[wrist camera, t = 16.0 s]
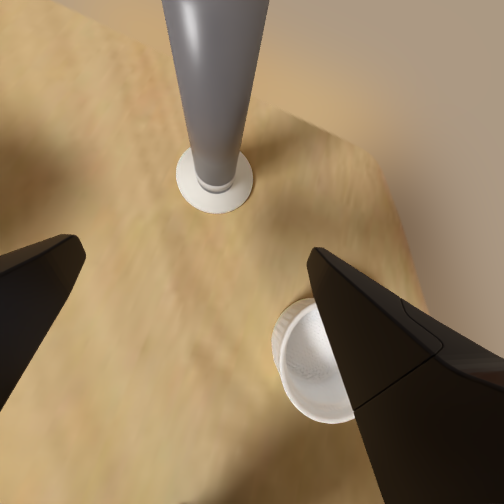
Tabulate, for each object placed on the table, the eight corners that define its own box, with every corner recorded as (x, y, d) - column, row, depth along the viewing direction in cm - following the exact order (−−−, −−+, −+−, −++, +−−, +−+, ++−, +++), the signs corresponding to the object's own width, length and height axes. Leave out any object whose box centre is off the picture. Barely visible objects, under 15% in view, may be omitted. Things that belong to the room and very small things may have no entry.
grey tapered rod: (241, 171, 19) (293, -31, 6) (222, 201, 18) (237, 44, 6) (208, 151, 19) (194, -108, 6) (188, 180, 18) (123, -37, 5)
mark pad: (260, 158, 20) (261, 156, 20) (240, 224, 19) (241, 223, 19) (191, 131, 19) (190, 129, 19) (165, 199, 18) (164, 197, 18)
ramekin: (352, 293, 20) (388, 298, 16) (353, 387, 19) (392, 420, 15) (266, 291, 19) (280, 296, 14) (263, 393, 18) (278, 431, 14)
